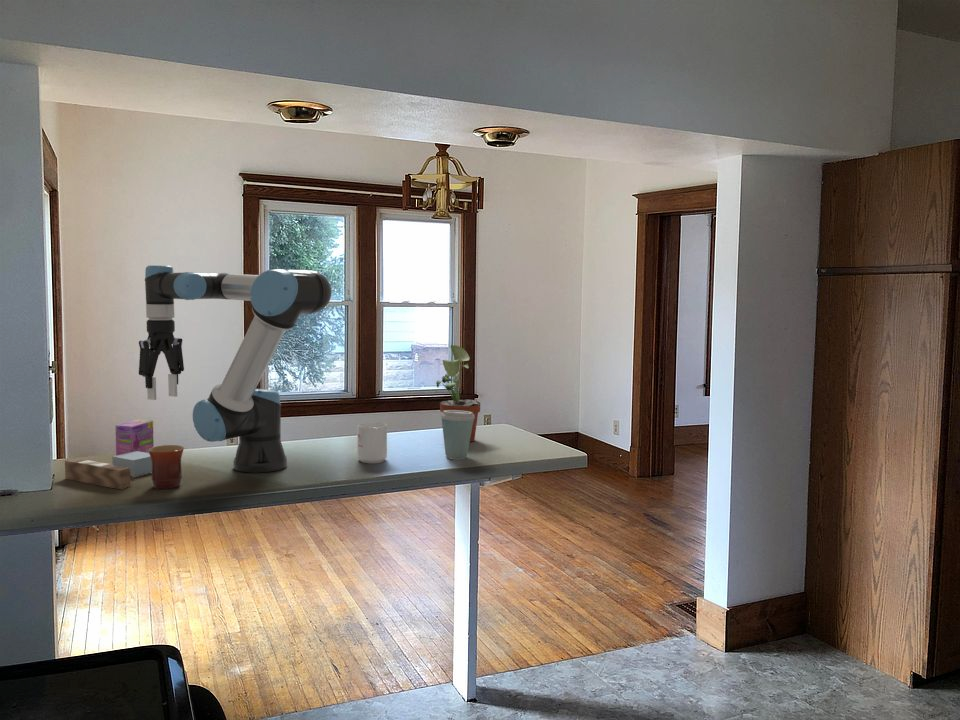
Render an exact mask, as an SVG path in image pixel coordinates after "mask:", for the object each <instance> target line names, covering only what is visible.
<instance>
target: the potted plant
mask: <svg viewBox="0 0 960 720" xmlns="http://www.w3.org/2000/svg"><path fill="white" fill-rule="evenodd" d="M450 349H451V351H452V354H453V356H454V357H453V358H454V360H449V359H448V360H447V359H443V360H442V364H443V367H444V371H445V372H446V373H445V375H443V376H442V377H441V380H439V379H438V380H437V381H436V382H435V384H436V387H437V388H438V389H439V386H440V384H442V385H443V387H444V388H445V389H446V390H447V391H448V393H449V394H450V396H451V400H449V399H448V400H443V401H440V402H439V408H440V409H439V411H440V412H441V413H443V411H444V410H461V411H469V412H472V413H473V414H474V416H475V418H474V420H473V426H472V431H471V437H470V442H469V443H471V442H475V440H476V430H477V424H478V418H479V413H480V412H481V402H480V401H477V400H474V399H460V391H459V389H460V388H459V387H460V380H461V375H462V369H463V367H464V368H465V369H469V368H470V366H469V362H467V361H470V359H471V357H470V355H469V354H468V352H467V350H465V349H464V348H463V347H461V346H459V345H456V344H455V345H452V344H451V345H450ZM460 362H466V363H465V364H464V363H460ZM450 377H452V378H450ZM451 382H452V383H451ZM453 388H454V389H453Z"/></svg>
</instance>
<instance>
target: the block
mask: <svg viewBox="0 0 960 720" xmlns="http://www.w3.org/2000/svg"><path fill="white" fill-rule="evenodd" d="M112 465H115V466H121V467H126V468H130V476H133V477H132V478H136V477H135V476H137V477H140V476H139V475H141V476H143V475H142V474H145V475H147V474H146V473H150V474H152V473H151V472H152V461H151V457H150V454H149V453H145V452H139V451H135V452H131V453H126V454H121V455H117V456H116V455H113V456H112Z"/></svg>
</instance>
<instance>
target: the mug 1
mask: <svg viewBox="0 0 960 720" xmlns="http://www.w3.org/2000/svg"><path fill="white" fill-rule="evenodd" d="M184 450H185V447H184V446H182V445H178V444H166V445H165V444H163V445H157V446H156V445H155V446H154V447H152V448H150V449H148V452H149V454H150V457H151V461H152V473H151V484H152V487H154V488H155V489H157V490H173V489H177V488H178V487H180V485H182V481H183V480H182V478H183V470H182V469H183V468H182V467H183V466H182V459H183V458H182V456H183V453H184Z"/></svg>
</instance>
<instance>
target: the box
mask: <svg viewBox="0 0 960 720" xmlns="http://www.w3.org/2000/svg"><path fill="white" fill-rule="evenodd" d="M152 447H155V446H154V420H151V419H134V420H131V421H128V422H127V421H126V422H123V423H120V424H117V425H115V456H117V455H121V454H126V453H131V452H135V451H139V452H145V453H149V452H148V449H150V448H152Z"/></svg>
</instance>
